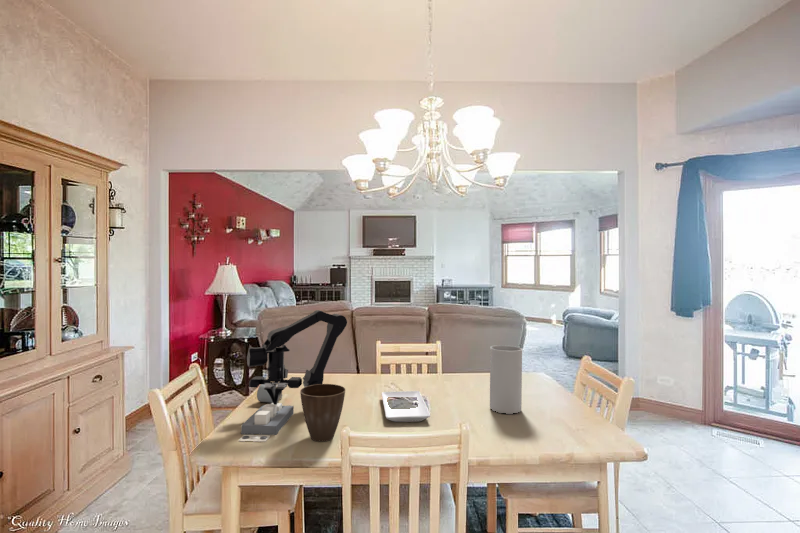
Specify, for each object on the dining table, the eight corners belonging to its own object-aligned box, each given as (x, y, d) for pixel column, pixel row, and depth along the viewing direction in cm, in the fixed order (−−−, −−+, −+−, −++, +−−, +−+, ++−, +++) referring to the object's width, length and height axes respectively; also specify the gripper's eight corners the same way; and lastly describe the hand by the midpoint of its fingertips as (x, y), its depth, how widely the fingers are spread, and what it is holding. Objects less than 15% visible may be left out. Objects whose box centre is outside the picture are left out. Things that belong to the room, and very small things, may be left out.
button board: (293, 413, 163) (293, 405, 163) (276, 435, 142) (276, 426, 142) (262, 412, 163) (263, 405, 163) (241, 434, 142) (241, 425, 142)
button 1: (269, 422, 148) (270, 410, 148) (266, 426, 144) (266, 414, 144) (258, 422, 148) (258, 410, 148) (254, 426, 144) (254, 414, 144)
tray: (385, 426, 152) (385, 416, 152) (381, 399, 184) (381, 391, 184) (431, 424, 154) (431, 415, 154) (419, 398, 185) (419, 390, 185)
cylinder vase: (526, 409, 171) (527, 348, 171) (511, 417, 162) (512, 352, 162) (499, 402, 180) (500, 344, 180) (483, 409, 170) (484, 348, 171)
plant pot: (307, 427, 149) (308, 382, 149) (349, 430, 147) (349, 384, 147) (292, 445, 134) (293, 395, 134) (338, 448, 132) (339, 397, 133)
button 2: (282, 413, 162) (282, 403, 162) (278, 417, 158) (279, 406, 158) (271, 413, 162) (272, 402, 162) (268, 416, 158) (268, 406, 158)
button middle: (276, 415, 155) (276, 404, 155) (272, 419, 151) (272, 408, 151) (265, 415, 155) (265, 404, 155) (261, 418, 151) (261, 407, 151)
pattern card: (270, 436, 141) (270, 434, 141) (265, 441, 136) (265, 440, 136) (244, 435, 141) (244, 434, 141) (238, 441, 137) (238, 439, 137)
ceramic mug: (273, 405, 172) (273, 386, 172) (256, 403, 174) (256, 385, 175) (287, 398, 182) (287, 380, 182) (270, 396, 185) (271, 379, 185)
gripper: (305, 359, 168) (305, 398, 168) (259, 358, 168) (259, 397, 168) (298, 366, 157) (297, 407, 157) (248, 365, 157) (248, 406, 157)
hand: (275, 404), depth 160 cm, fingers closed, pressing on button 2
